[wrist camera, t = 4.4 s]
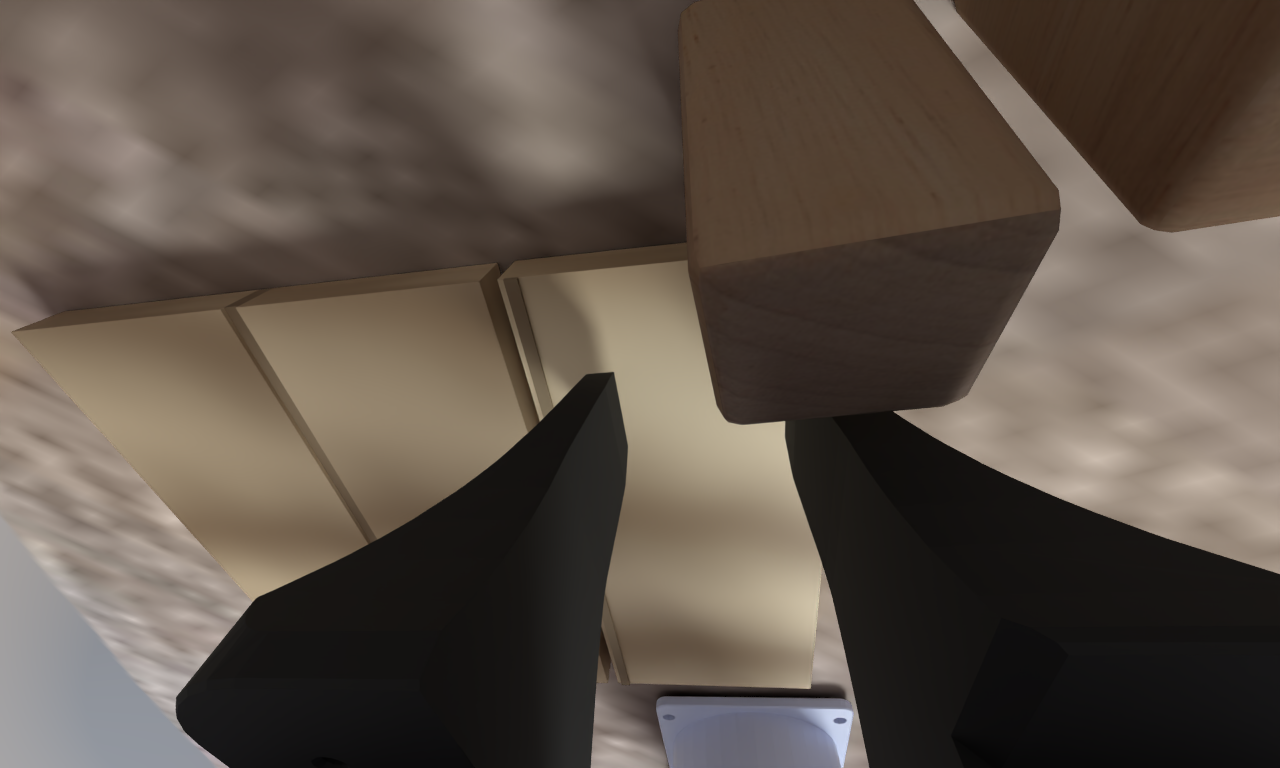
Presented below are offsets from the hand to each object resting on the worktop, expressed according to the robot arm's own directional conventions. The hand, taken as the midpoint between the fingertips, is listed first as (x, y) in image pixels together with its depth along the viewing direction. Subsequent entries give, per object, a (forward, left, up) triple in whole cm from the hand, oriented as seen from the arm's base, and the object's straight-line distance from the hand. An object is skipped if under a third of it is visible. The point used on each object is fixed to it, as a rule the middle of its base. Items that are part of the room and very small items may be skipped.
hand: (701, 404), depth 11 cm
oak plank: (-5, 0, -2) cm, 5 cm away
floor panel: (-5, +10, -2) cm, 12 cm away
